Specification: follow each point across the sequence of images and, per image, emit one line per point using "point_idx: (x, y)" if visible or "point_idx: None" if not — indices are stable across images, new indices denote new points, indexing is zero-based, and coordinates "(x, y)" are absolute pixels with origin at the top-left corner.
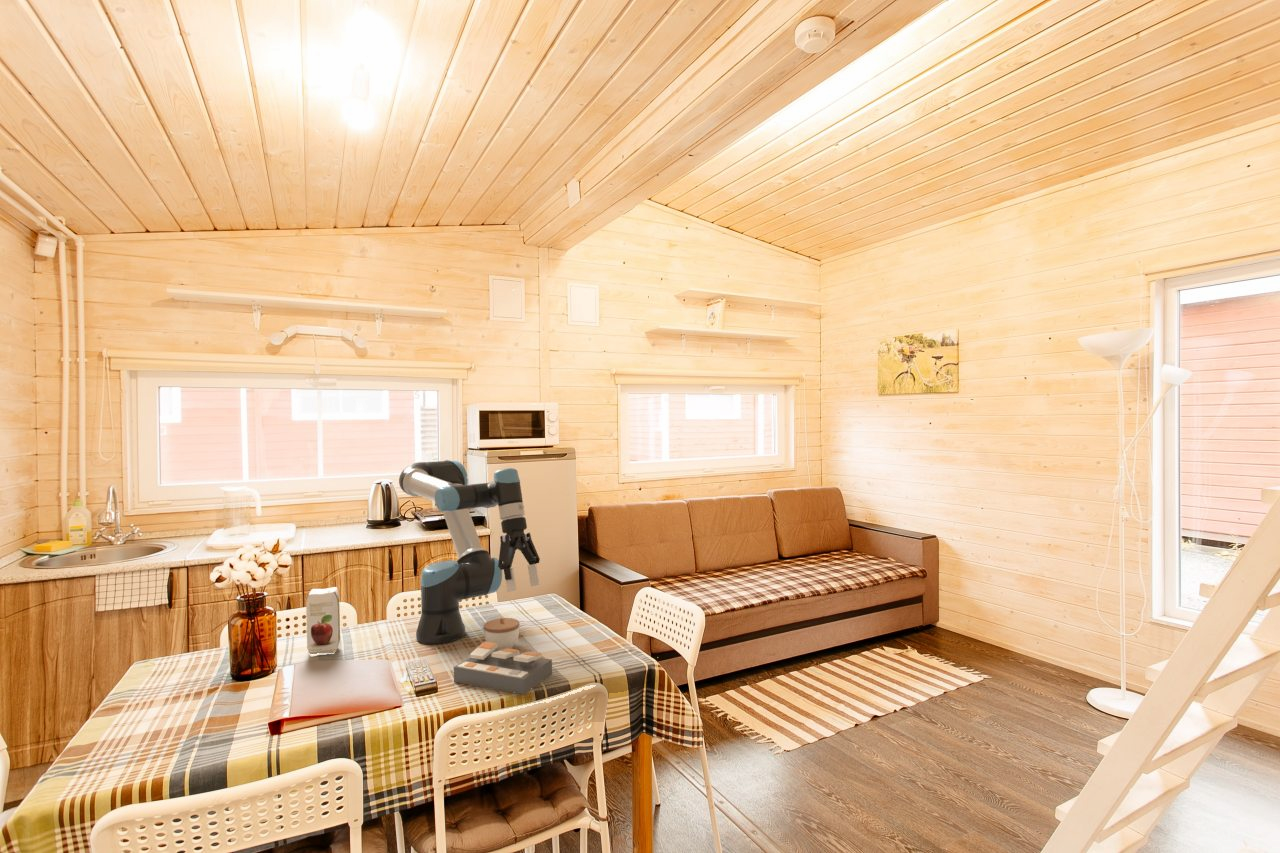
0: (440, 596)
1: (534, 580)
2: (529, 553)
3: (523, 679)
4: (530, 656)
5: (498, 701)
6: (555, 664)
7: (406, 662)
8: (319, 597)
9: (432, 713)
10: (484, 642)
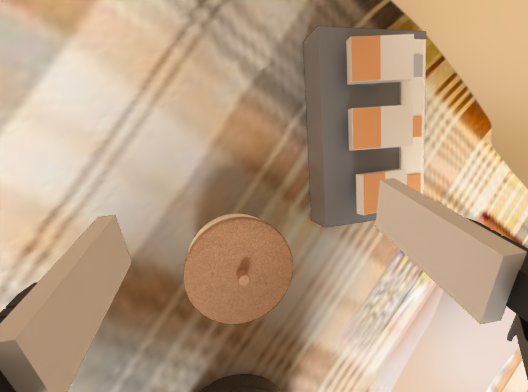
0: None
1: (109, 255)
2: None
3: (425, 32)
4: (390, 43)
5: (432, 76)
6: (255, 63)
7: (366, 351)
8: None
9: (488, 151)
10: (368, 210)
